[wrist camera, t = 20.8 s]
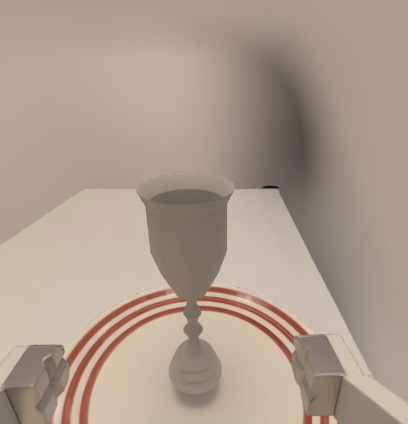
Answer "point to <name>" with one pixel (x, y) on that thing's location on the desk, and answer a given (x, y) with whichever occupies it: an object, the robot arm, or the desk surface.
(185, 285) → the chalice
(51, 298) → the desk surface
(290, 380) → the dinner plate
